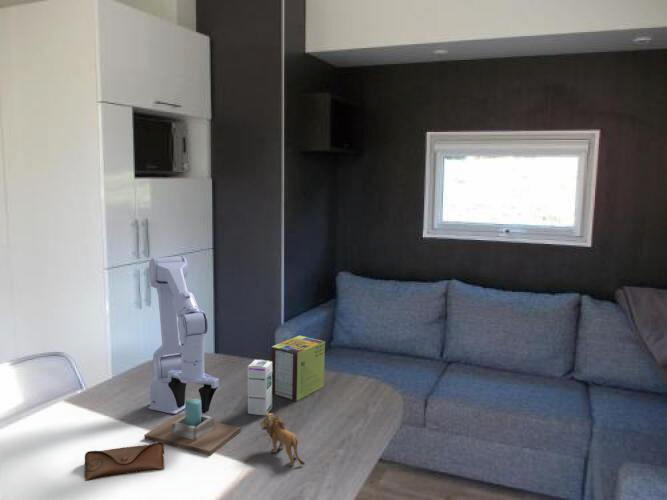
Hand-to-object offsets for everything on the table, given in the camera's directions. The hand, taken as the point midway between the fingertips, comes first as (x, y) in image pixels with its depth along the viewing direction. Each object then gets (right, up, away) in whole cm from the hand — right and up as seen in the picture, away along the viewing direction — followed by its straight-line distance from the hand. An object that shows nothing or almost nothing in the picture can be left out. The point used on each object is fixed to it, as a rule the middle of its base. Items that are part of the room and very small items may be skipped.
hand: (193, 409), depth 147 cm
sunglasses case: (-12, -10, -15) cm, 22 cm away
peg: (0, -6, +1) cm, 6 cm away
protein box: (+25, -4, +34) cm, 42 cm away
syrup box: (+15, -6, +17) cm, 24 cm away
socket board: (0, -7, +1) cm, 7 cm away
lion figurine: (+24, -9, -8) cm, 27 cm away
